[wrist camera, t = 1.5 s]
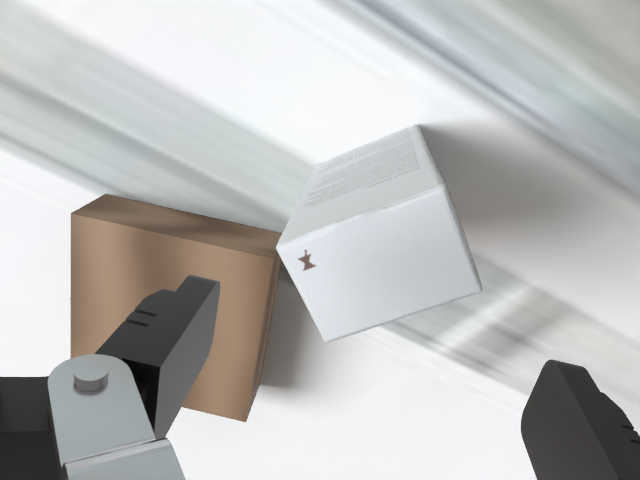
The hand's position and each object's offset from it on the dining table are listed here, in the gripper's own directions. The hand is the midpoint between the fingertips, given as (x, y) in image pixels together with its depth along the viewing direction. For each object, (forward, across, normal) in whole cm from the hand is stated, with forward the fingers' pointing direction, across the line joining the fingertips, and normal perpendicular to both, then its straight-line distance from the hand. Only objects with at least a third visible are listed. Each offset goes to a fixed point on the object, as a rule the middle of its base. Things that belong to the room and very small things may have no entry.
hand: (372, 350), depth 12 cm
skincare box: (+17, 0, 0) cm, 17 cm away
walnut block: (+17, +10, +10) cm, 22 cm away
